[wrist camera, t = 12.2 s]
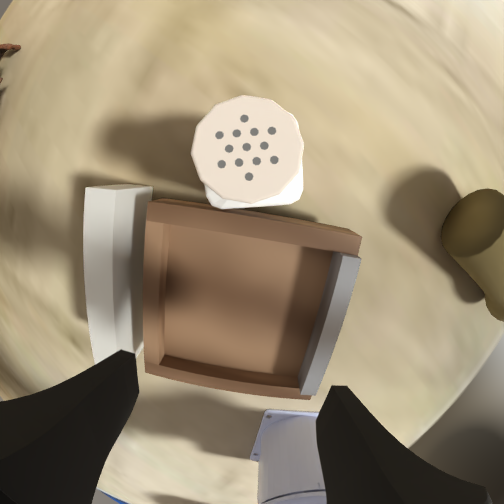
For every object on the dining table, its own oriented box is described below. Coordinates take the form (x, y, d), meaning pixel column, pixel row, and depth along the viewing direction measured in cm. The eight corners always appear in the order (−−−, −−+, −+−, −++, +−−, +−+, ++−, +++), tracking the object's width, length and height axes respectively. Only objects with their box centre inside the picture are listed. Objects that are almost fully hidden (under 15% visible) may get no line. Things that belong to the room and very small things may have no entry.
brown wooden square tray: (303, 366, 20) (311, 406, 15) (162, 342, 20) (142, 377, 15) (341, 224, 17) (366, 239, 13) (171, 196, 17) (143, 202, 13)
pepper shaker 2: (460, 188, 16) (503, 268, 18) (428, 249, 17) (476, 319, 19) (518, 188, 10) (546, 281, 12) (489, 266, 11) (520, 341, 13)
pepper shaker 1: (220, 138, 16) (173, 92, 7) (285, 133, 16) (310, 79, 7) (225, 200, 17) (183, 223, 8) (290, 196, 17) (322, 214, 8)
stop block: (146, 342, 20) (121, 380, 15) (124, 336, 20) (96, 371, 15) (153, 186, 17) (116, 189, 12) (127, 184, 17) (85, 187, 12)
